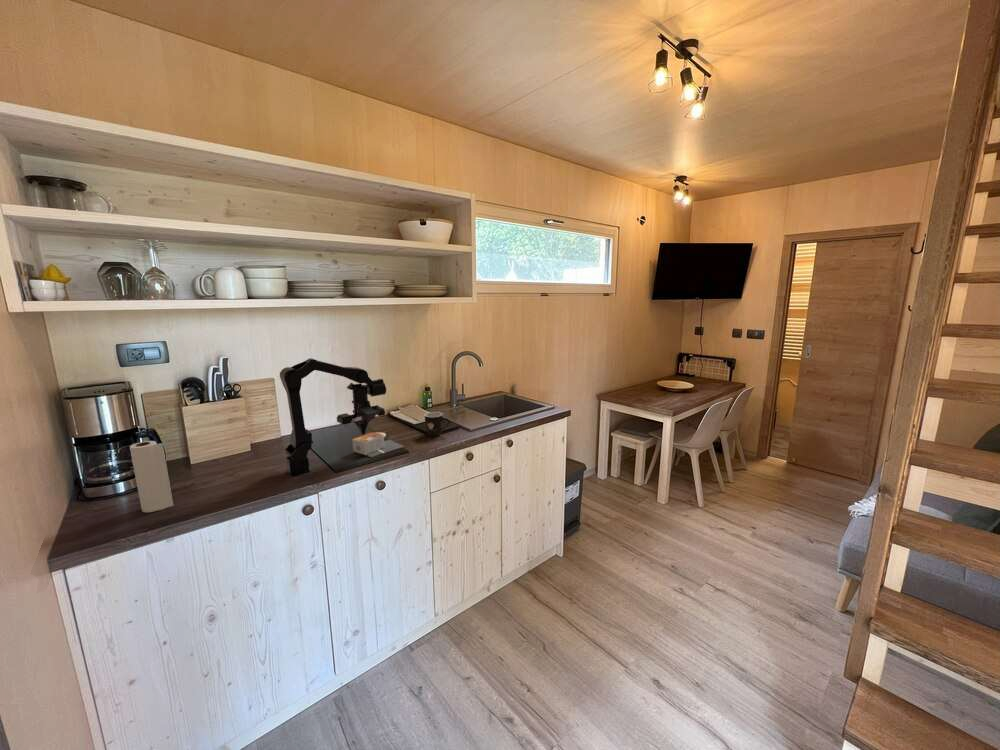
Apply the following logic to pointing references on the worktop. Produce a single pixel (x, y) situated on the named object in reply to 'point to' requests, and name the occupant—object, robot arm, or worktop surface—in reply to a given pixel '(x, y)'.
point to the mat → (386, 448)
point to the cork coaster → (381, 433)
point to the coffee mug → (434, 423)
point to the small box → (368, 443)
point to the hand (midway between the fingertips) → (363, 434)
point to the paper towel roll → (151, 476)
